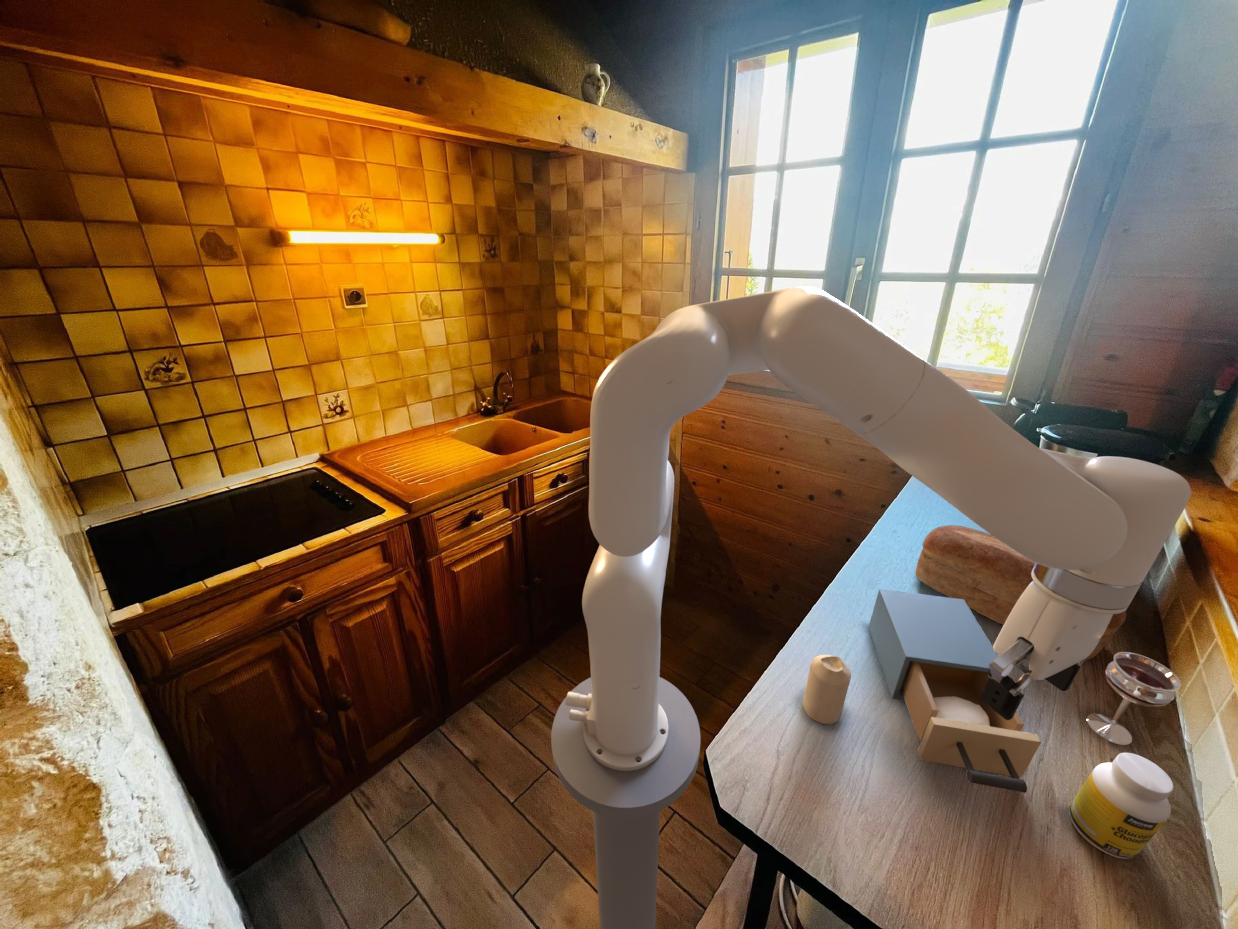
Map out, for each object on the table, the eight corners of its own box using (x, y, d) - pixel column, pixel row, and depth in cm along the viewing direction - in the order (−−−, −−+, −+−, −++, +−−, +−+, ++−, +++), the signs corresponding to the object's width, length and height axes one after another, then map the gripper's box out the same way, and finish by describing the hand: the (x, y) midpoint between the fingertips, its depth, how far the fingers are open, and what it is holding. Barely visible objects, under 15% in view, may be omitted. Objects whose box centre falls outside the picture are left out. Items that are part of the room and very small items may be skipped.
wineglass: (1153, 743, 70) (1195, 685, 65) (1118, 756, 68) (1159, 697, 63) (1100, 704, 76) (1134, 647, 71) (1067, 714, 74) (1100, 657, 69)
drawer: (1043, 819, 60) (1066, 783, 57) (933, 798, 63) (949, 762, 60) (974, 688, 78) (989, 654, 75) (890, 675, 80) (901, 642, 77)
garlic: (966, 705, 74) (974, 687, 72) (998, 748, 68) (1007, 729, 66) (914, 706, 74) (920, 688, 72) (941, 749, 68) (948, 731, 66)
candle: (822, 688, 79) (833, 643, 75) (848, 717, 74) (861, 670, 70) (794, 700, 77) (804, 654, 73) (820, 730, 73) (832, 682, 68)
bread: (930, 558, 110) (947, 506, 104) (1112, 643, 87) (1147, 583, 81) (902, 579, 103) (919, 525, 97) (1091, 676, 81) (1127, 614, 75)
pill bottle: (1081, 850, 58) (1124, 791, 53) (1057, 796, 64) (1093, 738, 59) (1150, 870, 56) (1201, 811, 51) (1119, 812, 62) (1162, 754, 57)
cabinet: (988, 713, 75) (1008, 671, 71) (891, 698, 77) (905, 656, 73) (949, 638, 88) (964, 599, 84) (868, 627, 91) (879, 589, 87)
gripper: (1091, 538, 55) (1036, 649, 63) (987, 576, 49) (940, 693, 57) (1180, 578, 49) (1107, 696, 56) (1072, 626, 43) (1007, 751, 51)
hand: (1023, 695), depth 57 cm, fingers open, 9 cm apart
